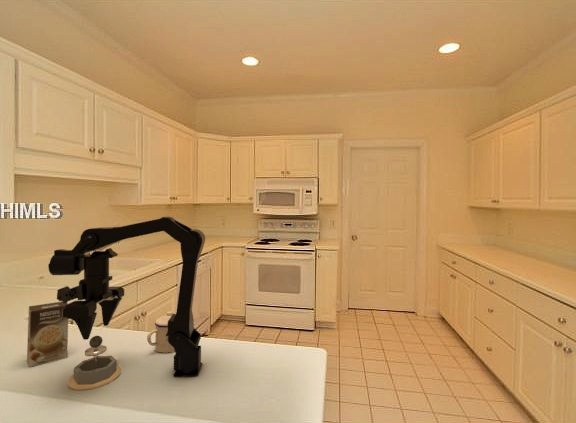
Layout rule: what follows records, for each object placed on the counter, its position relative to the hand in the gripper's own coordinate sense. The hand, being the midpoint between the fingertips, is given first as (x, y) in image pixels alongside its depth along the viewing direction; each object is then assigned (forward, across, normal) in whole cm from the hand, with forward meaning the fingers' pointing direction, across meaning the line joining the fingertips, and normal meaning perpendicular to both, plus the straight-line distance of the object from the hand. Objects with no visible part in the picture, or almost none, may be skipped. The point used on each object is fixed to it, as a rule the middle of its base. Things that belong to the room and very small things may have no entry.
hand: (96, 332), depth 80 cm
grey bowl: (+12, 0, 0) cm, 12 cm away
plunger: (+8, 0, 0) cm, 8 cm away
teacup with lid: (+12, -16, +13) cm, 24 cm away
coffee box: (+12, -11, -20) cm, 26 cm away
